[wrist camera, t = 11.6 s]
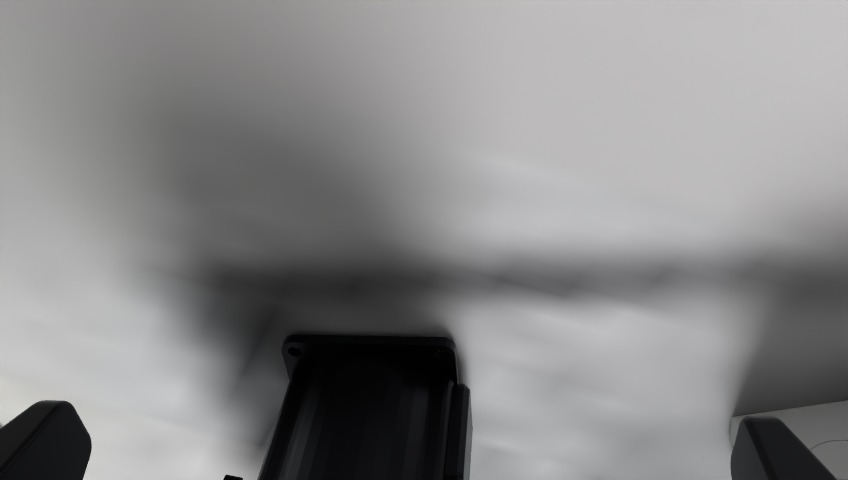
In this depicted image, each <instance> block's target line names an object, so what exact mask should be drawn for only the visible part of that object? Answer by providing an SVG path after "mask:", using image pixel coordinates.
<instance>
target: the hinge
mask: <svg viewBox="0 0 848 480" xmlns="http://www.w3.org/2000/svg"><path fill="white" fill-rule="evenodd" d="M748 415H751V416H774V417H777V418H779V419H780V420H782V421H783V422H784V423H785V424H786V425H787V426H788V427H789V428H790V429H791V430H792V432H793V433H794V434H795V435H796V436H797V437H798V438H799V439H800V440H801V441H802V442H803V443H804V444H805V445H806V446H807V447H808V449H809V450H810V451H811V452H812V453H813V454H814V455H815V456H816V457H817V458H818V459H819V460H820V461H821V462H822V463H823V465H824V466H825V467H826V468H827V469H828V470H829V471H830V472H831V473H832V474H833V475H834V476H835V477H836V478H837V479H838V480H848V401H841V402H833V403H826V404H819V405H812V406H805V407H798V408H791V409H784V410H777V411H770V412H763V413H755V414H748ZM748 415H741V416H734V417H732V419H731V424H730V442H731V444H732V446H733V447H734V443H735V439H736V435H737V431H738V427H739V424H740V421H741V419H742V418H743V417H745V416H748Z"/></svg>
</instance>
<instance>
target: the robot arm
mask: <svg viewBox="0 0 848 480" xmlns="http://www.w3.org/2000/svg"><path fill="white" fill-rule="evenodd" d="M294 347H296V348H298V349H296V348H294ZM438 350H444V351H445V352H441V351H438ZM282 354H283V358H284V361H285V365H286V368H287V372H288V375H289V379H290V382H289V385H288V388H287V391H286V394H285V397H284V400H283V403H282V406H281V409H280V412H279V416H278V419H277V422H276V425H275V428H274V431H273V434H272V437H271V440H270V443H269V446H268V449H267V452H266V455H265V458H264V461H263V464H262V467H261V470H260V473H259V476H258V479H257V480H469V477H470V462H471V446H472V431H473V428H472V413H471V398H470V389H469V388H468V387H467V386H466V385H465V384H459V378H458V365H457V353H456V346H455V343H454V342H453V341H452V340H450V339H448V338H444V337H402V336H343V335H290V336H288V337H286V339H285V340H284V343H283V346H282ZM91 448H92V447H91V438H90V435H89V433H88V432H87V430H86V428H85V426H84V425H83V423H82V421H81V419H80V417H79V416H78V414H77V412H76V410H75V408H74V407H73V405H72V404H71V403H69V402H67V401H52V400H45V401H39V402H37V403H35V404H33V405H32V406H30V407H29V408H28V409H26V410H25V411H24V412H22V413H21V414H20V415H18V416H17V417H16V418H14V419H13V420H11V421H10V422H9V423H7V424H6V425H5V426H3V427H2V428H1V429H0V480H83V477H84V474H85V471H86V467H87V464H88V461H89V458H90V454H91ZM731 476H732V480H838V479H837V478H836V477H835V476H834V475H833V474H832V473H831V472H830V471H829V470H828V469H827V468H826V467H825V466H824V465H823V463H822V462H821V461H820V460H819V459H818V458H817V457H816V456H815V455H814V454H813V453H812V452H811V451H810V450H809V449H808V447H807V446H806V445H805V444H804V443H803V442H802V441H801V440H800V439H799V438H798V437H797V436H796V435H795V434H794V433H793V432H792V430H791V429H790V428H789V427H788V426H787V425H786V424H785V423H784V422H783V421H782V420H780V419H779V418H777V417H774V416H751V415H748V416H745V417H743V418H742V419H741V421H740V424H739V427H738V431H737V435H736V439H735V443H734V447H733V451H732V455H731ZM224 480H243V478H240V477H236V476H231V475H226V476H225V478H224Z"/></svg>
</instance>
